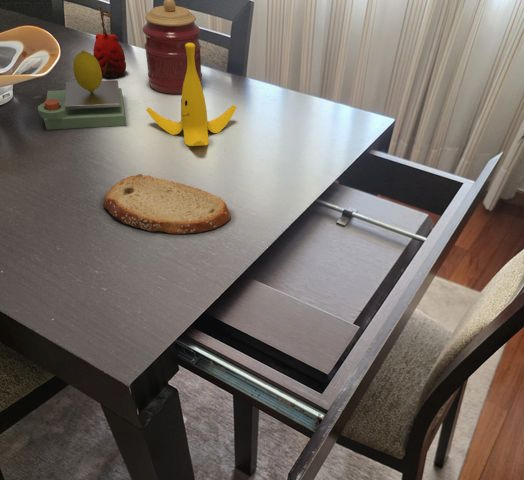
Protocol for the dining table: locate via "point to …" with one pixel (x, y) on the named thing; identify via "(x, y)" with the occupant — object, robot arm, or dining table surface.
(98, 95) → the scale pan
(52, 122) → the scale
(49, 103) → the tare button
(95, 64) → the lemon
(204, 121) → the banana peel
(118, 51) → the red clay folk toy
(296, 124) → the dining table surface
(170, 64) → the kitchen canister
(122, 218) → the bread slice
